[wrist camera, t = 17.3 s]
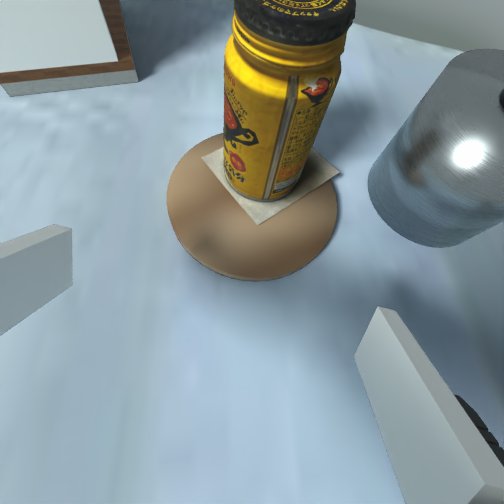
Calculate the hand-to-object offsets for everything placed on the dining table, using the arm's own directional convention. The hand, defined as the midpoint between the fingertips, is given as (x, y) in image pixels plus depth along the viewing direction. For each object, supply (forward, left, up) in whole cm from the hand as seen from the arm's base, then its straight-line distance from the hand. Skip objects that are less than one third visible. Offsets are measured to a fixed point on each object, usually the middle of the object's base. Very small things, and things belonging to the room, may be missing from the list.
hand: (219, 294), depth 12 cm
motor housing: (0, -20, -7) cm, 22 cm away
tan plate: (+7, -7, -7) cm, 12 cm away
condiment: (+8, -9, -7) cm, 14 cm away
